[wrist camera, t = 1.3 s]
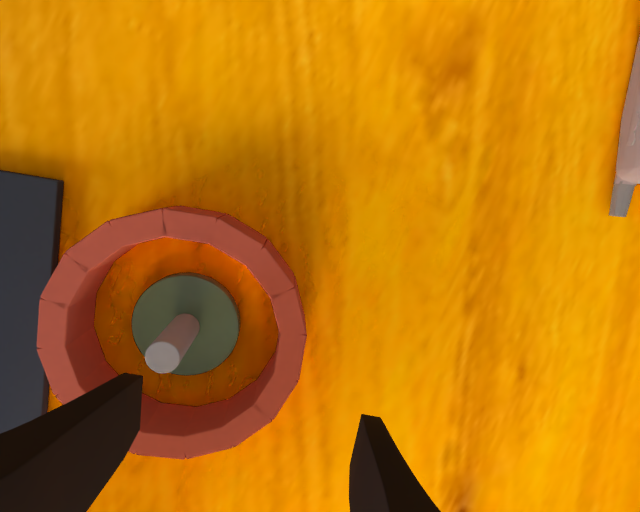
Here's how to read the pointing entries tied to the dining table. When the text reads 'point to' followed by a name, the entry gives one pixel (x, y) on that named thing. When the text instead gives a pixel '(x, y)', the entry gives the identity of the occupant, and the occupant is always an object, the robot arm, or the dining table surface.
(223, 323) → the post stand
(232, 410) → the ring
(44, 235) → the mat
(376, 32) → the dining table surface
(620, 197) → the mobile phone
